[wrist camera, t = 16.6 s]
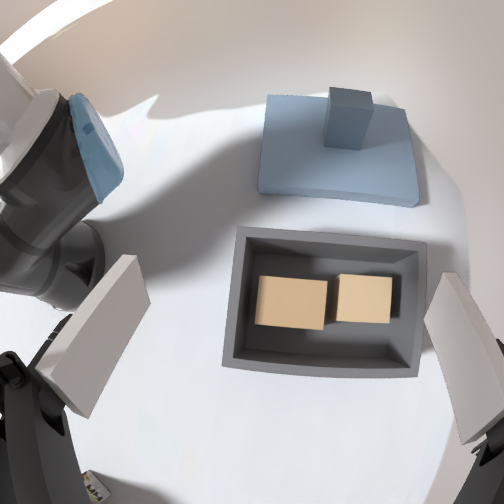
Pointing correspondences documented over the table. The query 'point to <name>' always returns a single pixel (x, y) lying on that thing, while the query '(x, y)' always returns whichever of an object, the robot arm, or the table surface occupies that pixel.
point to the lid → (337, 149)
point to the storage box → (325, 304)
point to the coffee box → (94, 488)
